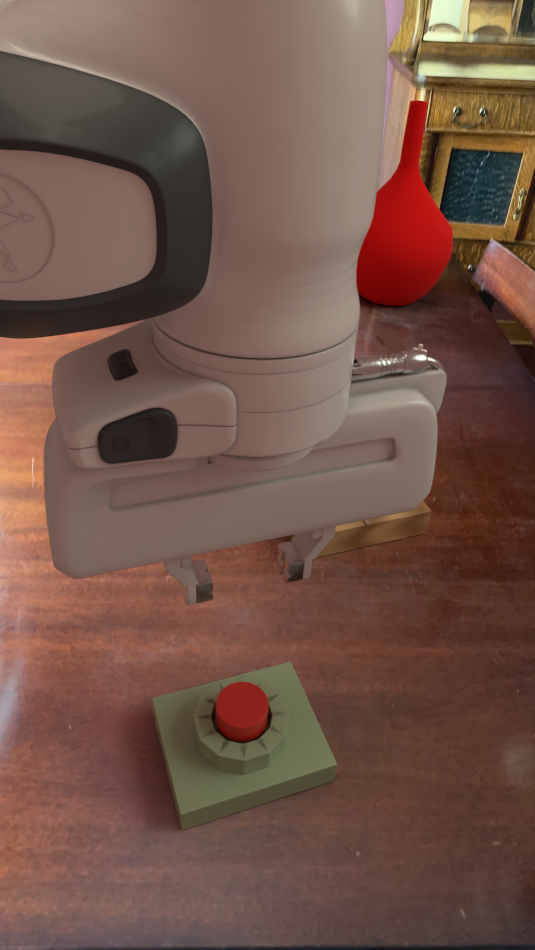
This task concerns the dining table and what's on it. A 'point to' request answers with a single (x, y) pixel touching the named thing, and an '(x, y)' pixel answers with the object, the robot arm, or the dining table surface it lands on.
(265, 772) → the olive flat block
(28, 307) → the robot arm
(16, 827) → the dining table surface
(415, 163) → the vase
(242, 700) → the button
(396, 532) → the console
